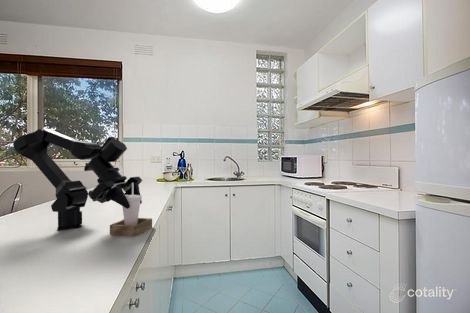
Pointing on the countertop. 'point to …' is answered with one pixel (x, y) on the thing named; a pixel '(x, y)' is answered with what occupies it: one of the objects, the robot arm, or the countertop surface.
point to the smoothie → (132, 208)
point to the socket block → (131, 227)
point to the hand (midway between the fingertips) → (135, 205)
